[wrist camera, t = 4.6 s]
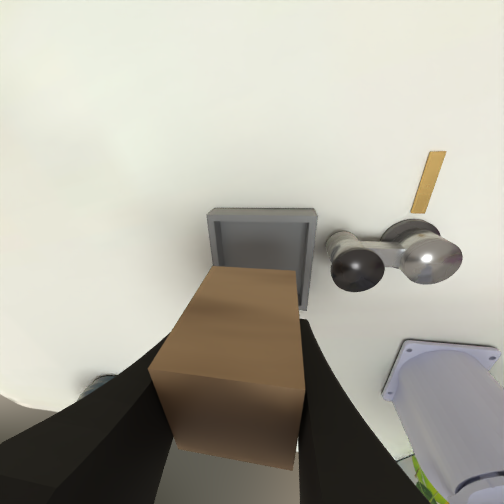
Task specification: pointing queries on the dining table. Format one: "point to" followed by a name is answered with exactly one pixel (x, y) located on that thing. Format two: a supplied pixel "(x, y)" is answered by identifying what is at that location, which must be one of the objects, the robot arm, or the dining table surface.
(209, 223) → the tray
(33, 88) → the dining table surface
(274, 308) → the block
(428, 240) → the crank lever
